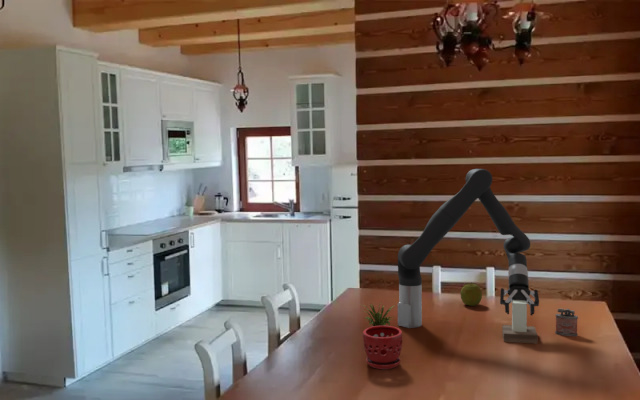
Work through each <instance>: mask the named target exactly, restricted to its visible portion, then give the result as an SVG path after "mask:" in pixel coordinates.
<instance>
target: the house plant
mask: <svg viewBox="0 0 640 400" xmlns="http://www.w3.org/2000/svg"><path fill="white" fill-rule="evenodd" d="M381 303H382V301H381V302H380V303H379V305H378V306H379V307H378V310H377V312H376V309H375V307H374V305H373V304H372V303H371V302H370V303H369V308H370V309H371V310H370V309H369V308H368V307H367V306H366V305H364V307H365V309H366V310H367V311H366V310H365V311H364V310H363V311H362V313H363V312H365V313H366V314H368V316H365V317H364V319H366V320H364V321H365V322H367V321H368V322H369V323H368V326H370V325H372V326H371V327H373V326H387V325H386V324H388V326H391V322H390V321H392V319H393V318H394V316H387V315H388V314H389V312H390V311H392V308H394V307H395V306H396V305H395V304H394V305H392V306H391V307H389V308H388V309H387V310H386V312H385V313H384V308H385V305H382V307H381ZM360 306H363V304H361V303H360ZM383 313H384V314H383ZM380 335H381V336H384V333H381V334H380ZM374 337H378V335H376V334H375V335H374Z"/></svg>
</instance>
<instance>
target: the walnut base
mask: <svg viewBox="0 0 640 400" xmlns="http://www.w3.org/2000/svg"><path fill="white" fill-rule="evenodd" d="M501 332H502V338H503V342H505V343H508V342H509V343H519V344H520V343H523V344H538V333H537V330H536V327H535V326H532V325H531V326H530V325H529V326H528V325H527V332H513V330H512V324H502V331H501Z"/></svg>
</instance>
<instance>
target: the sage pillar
mask: <svg viewBox="0 0 640 400" xmlns="http://www.w3.org/2000/svg"><path fill="white" fill-rule="evenodd" d="M527 310H528V304H527V303H526V301H525V300H512V302H511V325H512V330H513V332H527V326H528V325H527V324H528V322H527V321H528V311H527Z"/></svg>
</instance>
